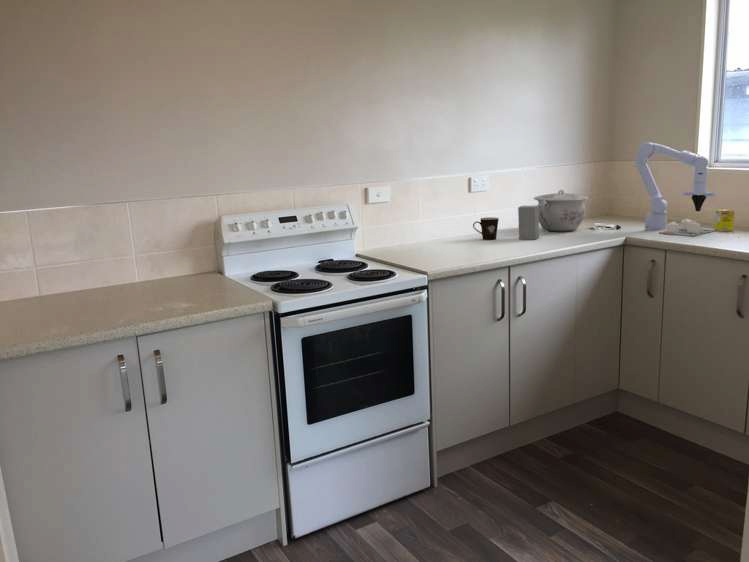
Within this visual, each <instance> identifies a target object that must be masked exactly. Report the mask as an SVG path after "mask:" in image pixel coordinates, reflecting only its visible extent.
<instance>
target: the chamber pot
mask: <svg viewBox="0 0 749 562" xmlns="http://www.w3.org/2000/svg"><path fill="white" fill-rule="evenodd" d="M589 198H590V197H589V196H587V195H583V194H576V193H568V192H564V189H560V190H558V192H557V193H556V192H555V193H546V194H543V195H537V196H534V197H533V200H534V201H537V202H538V203H537V205H538V215H539V226H540V227H541V228H542V229H544V230H546V231H549V232H557V233H558V232H561V233H562V232H572V231H574V230H577V229H578V228H579V227H580V226H581V224H582V223H583V221H584V220H585V216H586V212H587V211H586V205H585V203H584V202H585V201H586V200H589Z"/></svg>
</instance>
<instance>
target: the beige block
mask: <svg viewBox="0 0 749 562" xmlns="http://www.w3.org/2000/svg"><path fill="white" fill-rule="evenodd" d="M700 228H701V223H700V222H697V221H696V220H693V222H692V223H688V226H687V232H695V233H700V231H701V230H700Z"/></svg>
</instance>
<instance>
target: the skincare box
mask: <svg viewBox="0 0 749 562" xmlns="http://www.w3.org/2000/svg"><path fill="white" fill-rule="evenodd" d="M517 209H518V212H517V215H518V240H537V239H539V238H540V223H539V215H538V204H537V205H520V206H519V207H518V208H517Z"/></svg>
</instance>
